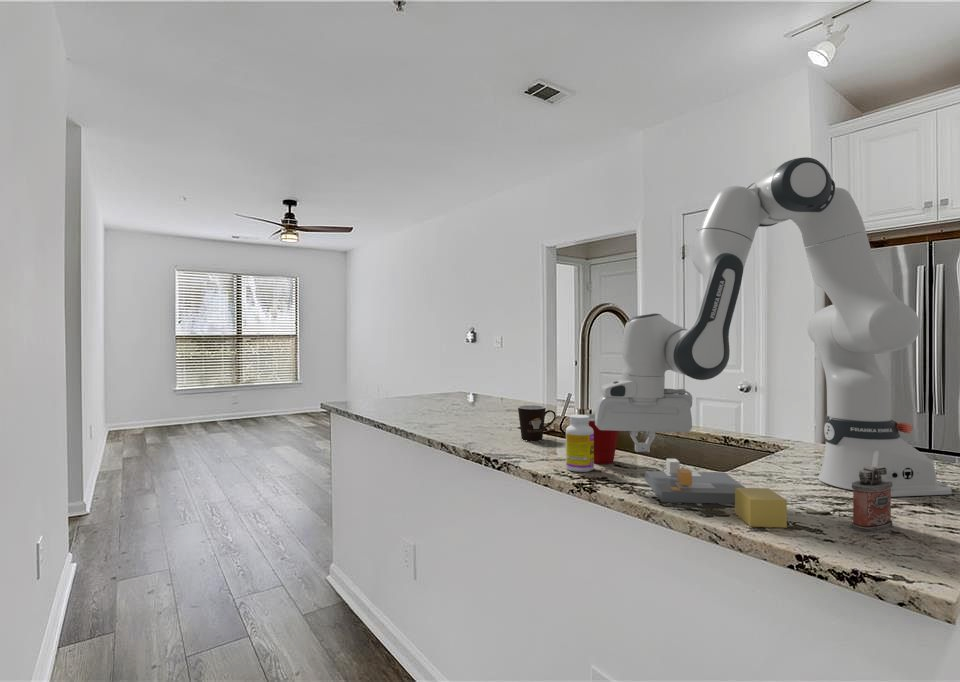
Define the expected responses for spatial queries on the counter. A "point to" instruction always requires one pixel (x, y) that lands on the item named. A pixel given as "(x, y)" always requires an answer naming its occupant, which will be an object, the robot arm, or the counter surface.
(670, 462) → the toggle white
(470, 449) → the counter surface
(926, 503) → the counter surface
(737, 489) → the yellow block
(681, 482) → the block
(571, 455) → the supplement bottle
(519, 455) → the counter surface
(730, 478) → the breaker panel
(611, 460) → the plastic cup
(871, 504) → the lighter
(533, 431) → the coffee mug
